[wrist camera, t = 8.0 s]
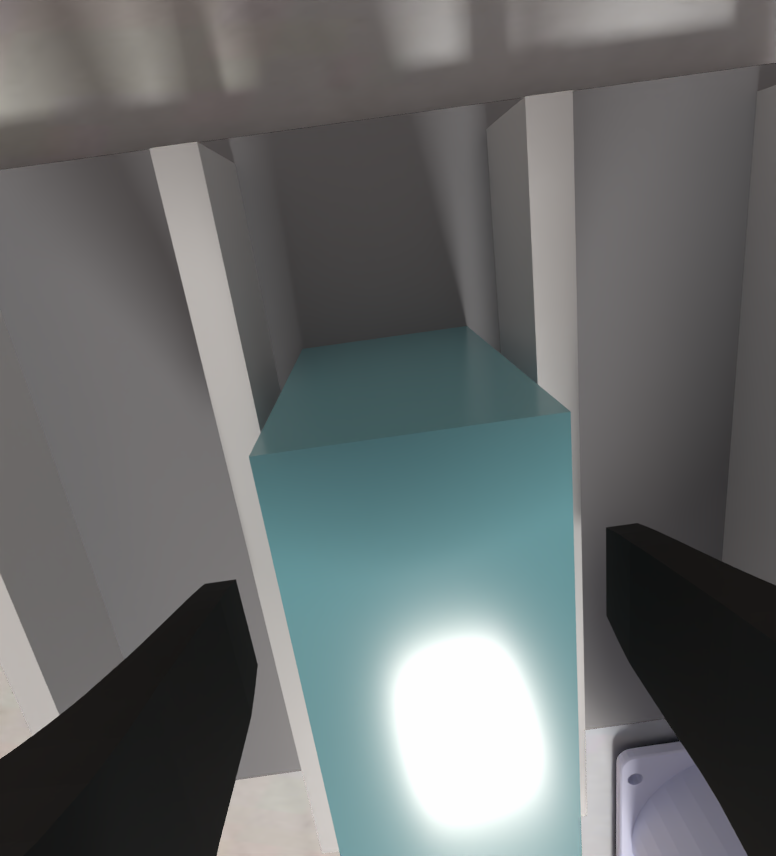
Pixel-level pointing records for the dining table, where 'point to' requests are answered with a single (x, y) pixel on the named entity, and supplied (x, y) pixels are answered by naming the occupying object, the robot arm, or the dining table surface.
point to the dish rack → (369, 319)
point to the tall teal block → (429, 593)
